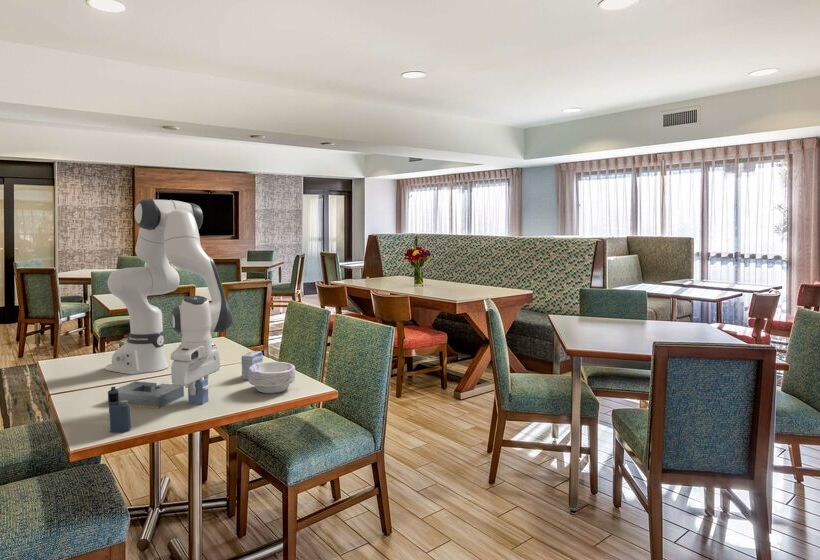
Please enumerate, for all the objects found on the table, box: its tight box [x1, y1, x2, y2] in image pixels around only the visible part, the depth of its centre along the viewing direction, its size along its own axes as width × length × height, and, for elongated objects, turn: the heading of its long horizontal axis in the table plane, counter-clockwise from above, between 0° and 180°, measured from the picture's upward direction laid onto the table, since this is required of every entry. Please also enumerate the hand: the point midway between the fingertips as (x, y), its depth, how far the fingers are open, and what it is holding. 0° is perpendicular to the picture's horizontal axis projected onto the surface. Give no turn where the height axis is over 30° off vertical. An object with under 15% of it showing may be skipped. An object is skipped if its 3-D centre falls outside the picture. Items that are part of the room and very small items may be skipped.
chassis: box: [106, 380, 185, 409], centre depth 170 cm, size 18×13×4 cm
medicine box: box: [241, 350, 264, 381], centre depth 197 cm, size 8×4×9 cm, turn 168°
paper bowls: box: [248, 361, 296, 394], centre depth 183 cm, size 15×15×8 cm
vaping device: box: [107, 386, 132, 433], centre depth 145 cm, size 3×5×12 cm, turn 95°
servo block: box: [184, 377, 212, 405], centre depth 169 cm, size 7×3×8 cm, turn 77°
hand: (198, 392), depth 169 cm, fingers closed on servo block, 3 cm apart
